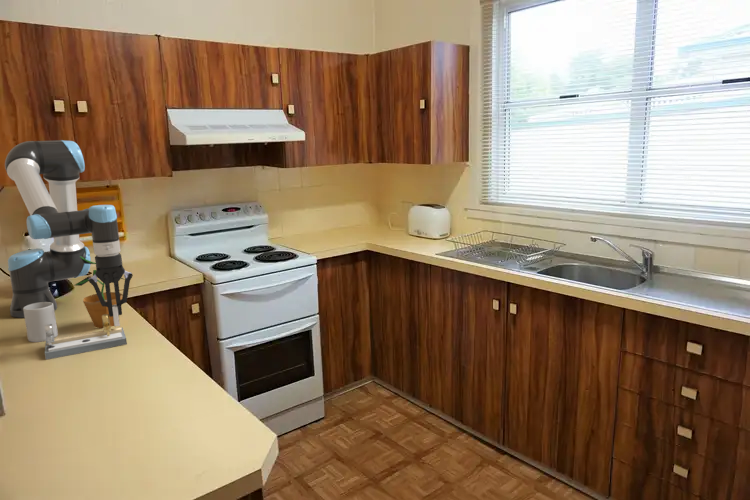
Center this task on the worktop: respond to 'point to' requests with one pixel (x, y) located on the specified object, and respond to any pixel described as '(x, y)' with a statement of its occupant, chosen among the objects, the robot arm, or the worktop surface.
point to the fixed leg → (49, 334)
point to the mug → (39, 320)
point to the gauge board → (85, 343)
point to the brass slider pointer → (106, 324)
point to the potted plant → (97, 302)
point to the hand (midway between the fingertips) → (116, 325)
